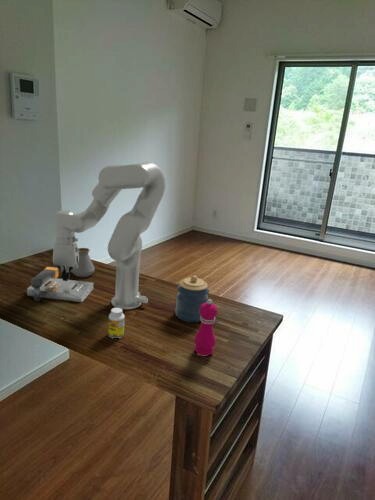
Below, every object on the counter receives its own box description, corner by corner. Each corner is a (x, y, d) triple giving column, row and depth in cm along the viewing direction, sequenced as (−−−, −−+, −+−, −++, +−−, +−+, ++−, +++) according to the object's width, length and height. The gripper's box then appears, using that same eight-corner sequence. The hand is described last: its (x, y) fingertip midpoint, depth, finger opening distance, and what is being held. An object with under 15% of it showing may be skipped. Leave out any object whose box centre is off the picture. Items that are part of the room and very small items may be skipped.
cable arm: (40, 291, 151) (40, 281, 150) (28, 290, 152) (28, 280, 150) (58, 276, 167) (58, 266, 166) (47, 275, 168) (47, 265, 166)
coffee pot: (99, 274, 187) (100, 245, 182) (82, 280, 177) (82, 251, 173) (70, 263, 197) (69, 236, 192) (52, 269, 187) (51, 241, 183)
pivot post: (41, 299, 156) (41, 285, 154) (38, 301, 154) (38, 287, 152) (36, 298, 156) (35, 284, 154) (33, 300, 154) (32, 287, 152)
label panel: (93, 288, 170) (93, 282, 169) (82, 302, 157) (82, 294, 155) (42, 282, 172) (42, 275, 170) (27, 295, 158) (26, 288, 157)
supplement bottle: (104, 335, 134) (105, 309, 131) (117, 329, 138) (117, 304, 135) (114, 341, 130) (115, 315, 127) (127, 335, 134) (128, 310, 131)
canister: (209, 311, 158) (213, 273, 152) (202, 326, 146) (206, 284, 140) (180, 306, 161) (183, 267, 155) (170, 319, 149) (173, 278, 143)
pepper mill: (213, 346, 133) (219, 295, 126) (215, 358, 126) (221, 305, 120) (193, 345, 132) (198, 294, 126) (194, 357, 125) (199, 303, 119)
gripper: (85, 239, 161) (85, 278, 166) (52, 235, 161) (53, 274, 167) (79, 244, 153) (79, 285, 159) (44, 240, 154) (45, 281, 160)
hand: (66, 279), depth 163 cm, fingers closed
